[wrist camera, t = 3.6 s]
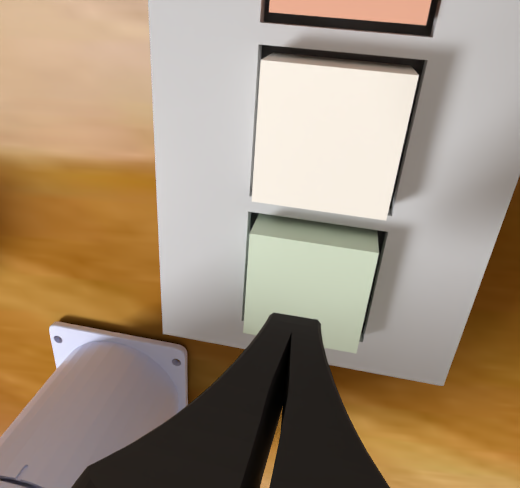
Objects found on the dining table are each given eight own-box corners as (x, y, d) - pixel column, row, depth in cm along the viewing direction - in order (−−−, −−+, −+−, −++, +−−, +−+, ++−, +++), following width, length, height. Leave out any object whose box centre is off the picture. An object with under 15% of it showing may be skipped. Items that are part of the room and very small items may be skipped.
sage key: (356, 318, 19) (356, 353, 17) (254, 301, 20) (242, 332, 18) (376, 224, 17) (379, 253, 15) (261, 208, 18) (249, 233, 16)
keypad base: (431, 333, 21) (443, 386, 19) (188, 291, 23) (162, 333, 20) (610, -225, 12) (690, -296, 9) (183, -229, 14) (135, -291, 11)
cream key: (383, 195, 16) (386, 220, 15) (263, 179, 17) (251, 201, 15) (411, 65, 14) (418, 75, 12) (273, 52, 15) (260, 59, 13)
